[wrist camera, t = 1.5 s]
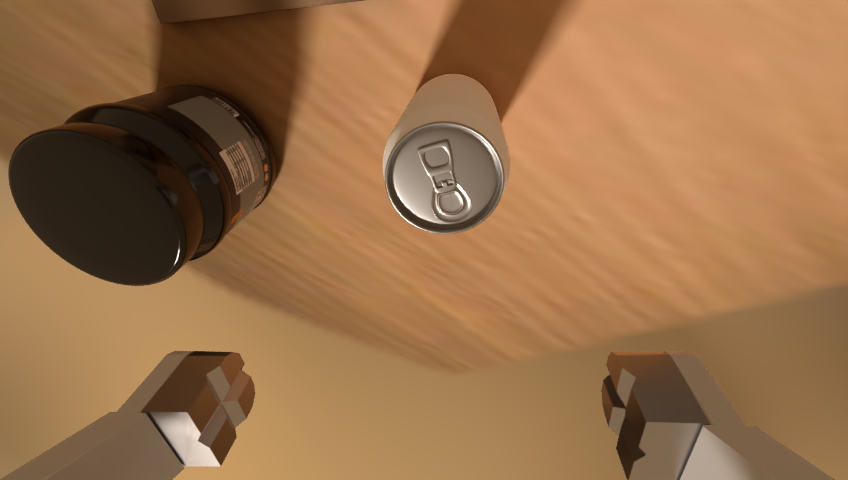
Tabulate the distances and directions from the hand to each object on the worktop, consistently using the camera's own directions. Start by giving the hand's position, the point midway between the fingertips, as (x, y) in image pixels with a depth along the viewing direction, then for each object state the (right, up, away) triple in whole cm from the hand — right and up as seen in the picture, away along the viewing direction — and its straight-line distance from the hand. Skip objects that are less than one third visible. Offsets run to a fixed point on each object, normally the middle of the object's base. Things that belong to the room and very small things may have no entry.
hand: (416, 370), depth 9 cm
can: (+2, +12, +20) cm, 23 cm away
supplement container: (-16, +10, +23) cm, 30 cm away
